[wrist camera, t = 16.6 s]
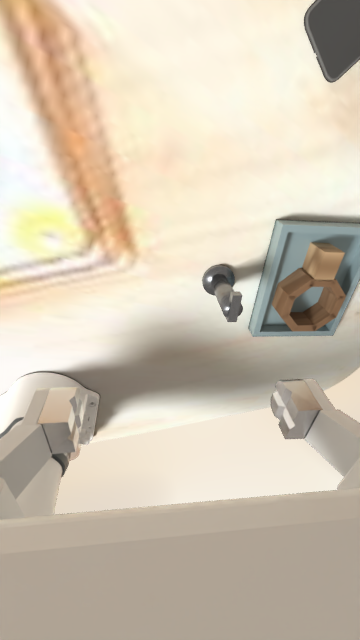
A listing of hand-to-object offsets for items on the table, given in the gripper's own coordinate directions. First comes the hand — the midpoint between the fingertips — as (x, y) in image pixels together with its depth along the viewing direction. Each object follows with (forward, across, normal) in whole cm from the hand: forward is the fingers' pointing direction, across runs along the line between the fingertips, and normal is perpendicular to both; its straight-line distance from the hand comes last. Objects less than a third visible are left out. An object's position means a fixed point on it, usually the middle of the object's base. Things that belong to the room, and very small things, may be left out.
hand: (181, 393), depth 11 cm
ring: (+31, +24, -10) cm, 40 cm away
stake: (+31, +10, -10) cm, 34 cm away
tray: (+31, +24, -10) cm, 41 cm away
